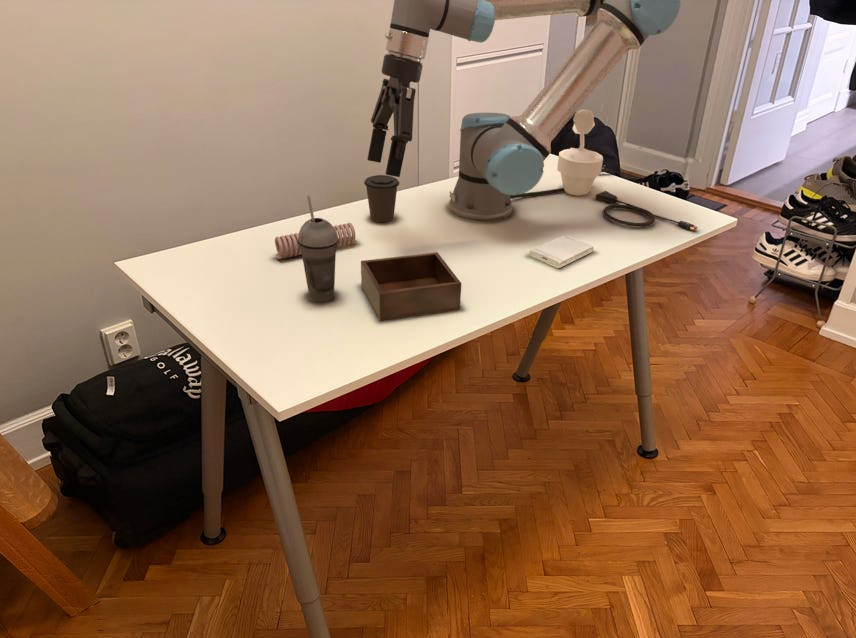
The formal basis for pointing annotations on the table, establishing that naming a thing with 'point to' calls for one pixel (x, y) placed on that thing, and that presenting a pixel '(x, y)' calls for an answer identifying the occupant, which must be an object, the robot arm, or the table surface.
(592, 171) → the potted plant
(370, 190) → the coffee cup
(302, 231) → the beverage cup
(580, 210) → the table surface
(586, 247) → the hard drive
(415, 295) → the box
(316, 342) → the table surface
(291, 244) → the coil
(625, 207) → the cable
